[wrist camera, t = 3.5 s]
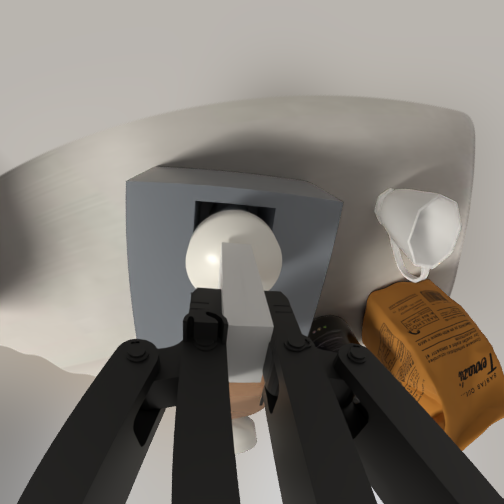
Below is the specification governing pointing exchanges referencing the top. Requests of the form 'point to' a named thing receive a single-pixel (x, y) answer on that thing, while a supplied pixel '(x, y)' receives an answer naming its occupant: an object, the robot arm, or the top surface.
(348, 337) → the supplement bottle
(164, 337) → the grey pod holder
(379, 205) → the cup
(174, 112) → the top surface
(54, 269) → the top surface
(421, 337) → the coffee package
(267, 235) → the knob
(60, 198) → the top surface
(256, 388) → the brown lidded jar
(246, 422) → the knob
